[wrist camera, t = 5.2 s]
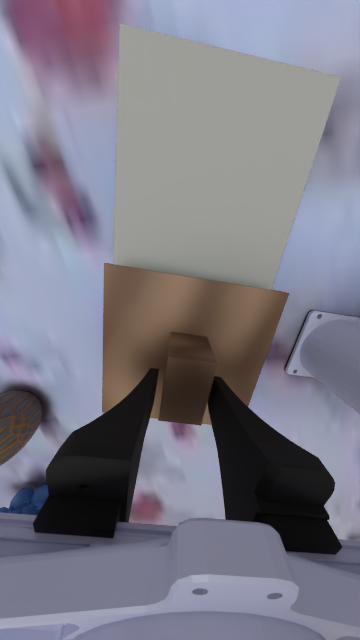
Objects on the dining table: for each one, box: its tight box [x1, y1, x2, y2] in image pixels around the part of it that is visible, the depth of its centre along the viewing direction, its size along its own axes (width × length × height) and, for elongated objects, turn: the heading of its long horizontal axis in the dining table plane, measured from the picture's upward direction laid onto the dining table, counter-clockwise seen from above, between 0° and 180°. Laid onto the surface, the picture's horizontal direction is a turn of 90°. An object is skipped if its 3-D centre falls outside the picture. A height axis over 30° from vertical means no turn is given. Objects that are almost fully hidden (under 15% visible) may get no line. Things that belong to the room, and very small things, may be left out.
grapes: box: [0, 484, 49, 515], centre depth 21 cm, size 12×7×12 cm, turn 96°
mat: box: [113, 23, 341, 290], centre depth 14 cm, size 16×16×1 cm
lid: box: [102, 263, 289, 425], centre depth 13 cm, size 14×14×5 cm
